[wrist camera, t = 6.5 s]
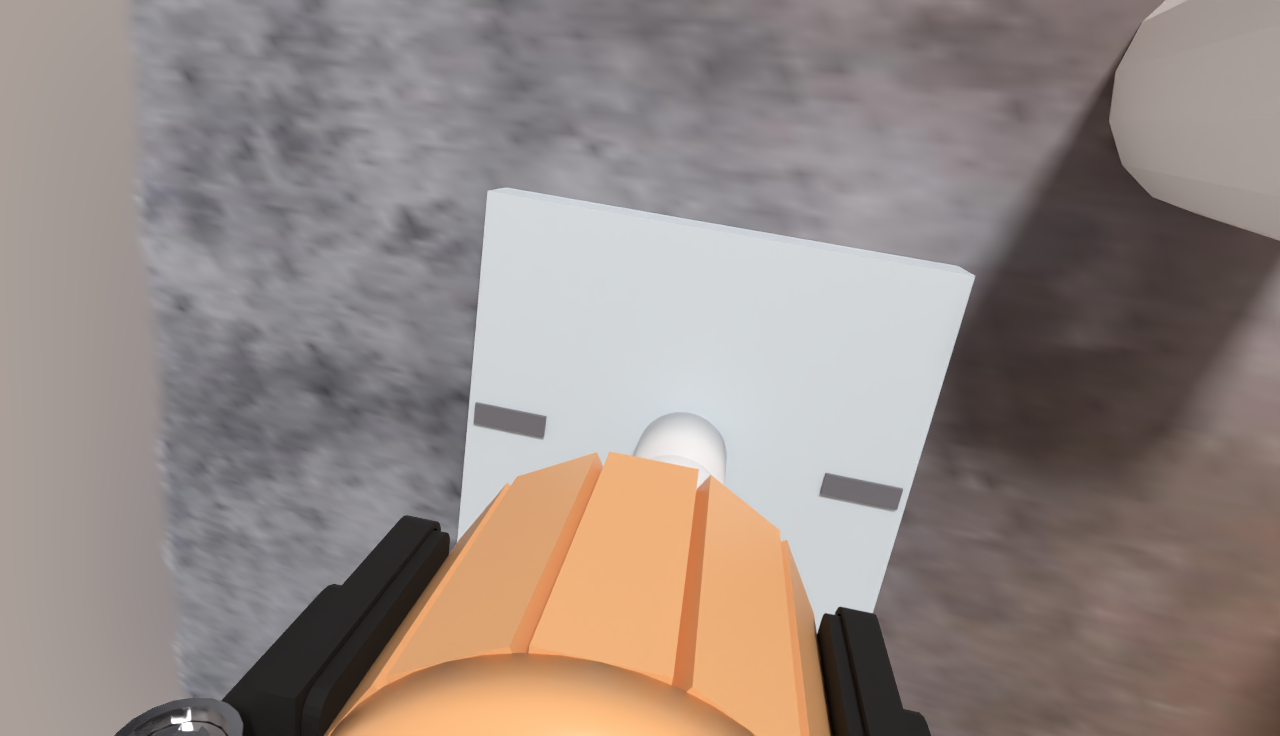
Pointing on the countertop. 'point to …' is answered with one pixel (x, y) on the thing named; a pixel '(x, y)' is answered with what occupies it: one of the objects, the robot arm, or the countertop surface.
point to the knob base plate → (713, 369)
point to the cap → (604, 618)
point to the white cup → (1205, 110)
